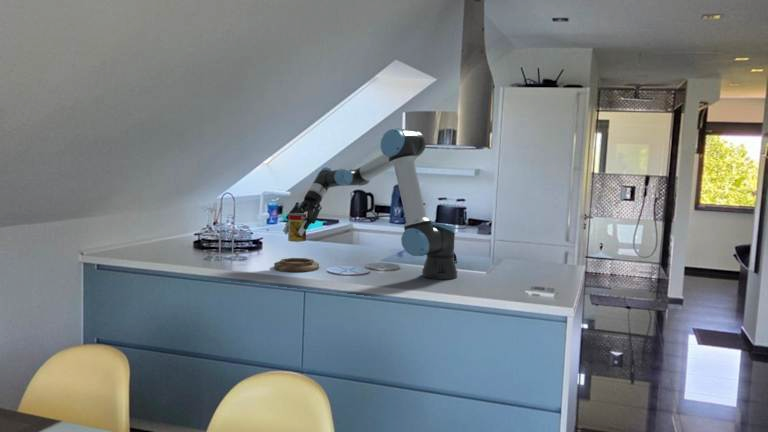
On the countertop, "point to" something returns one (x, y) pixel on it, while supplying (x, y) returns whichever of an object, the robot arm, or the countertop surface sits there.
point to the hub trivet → (296, 265)
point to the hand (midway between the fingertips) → (292, 233)
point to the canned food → (296, 227)
